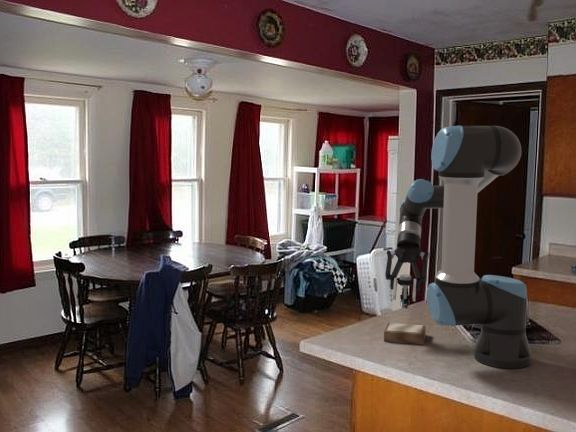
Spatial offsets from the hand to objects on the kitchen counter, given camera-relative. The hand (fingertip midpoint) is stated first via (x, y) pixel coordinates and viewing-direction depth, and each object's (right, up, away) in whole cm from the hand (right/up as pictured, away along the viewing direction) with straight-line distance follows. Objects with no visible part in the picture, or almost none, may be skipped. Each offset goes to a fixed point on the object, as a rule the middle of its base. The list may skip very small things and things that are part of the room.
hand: (404, 298), depth 177 cm
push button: (+1, -4, +4) cm, 6 cm away
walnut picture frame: (+1, -13, +4) cm, 14 cm away
